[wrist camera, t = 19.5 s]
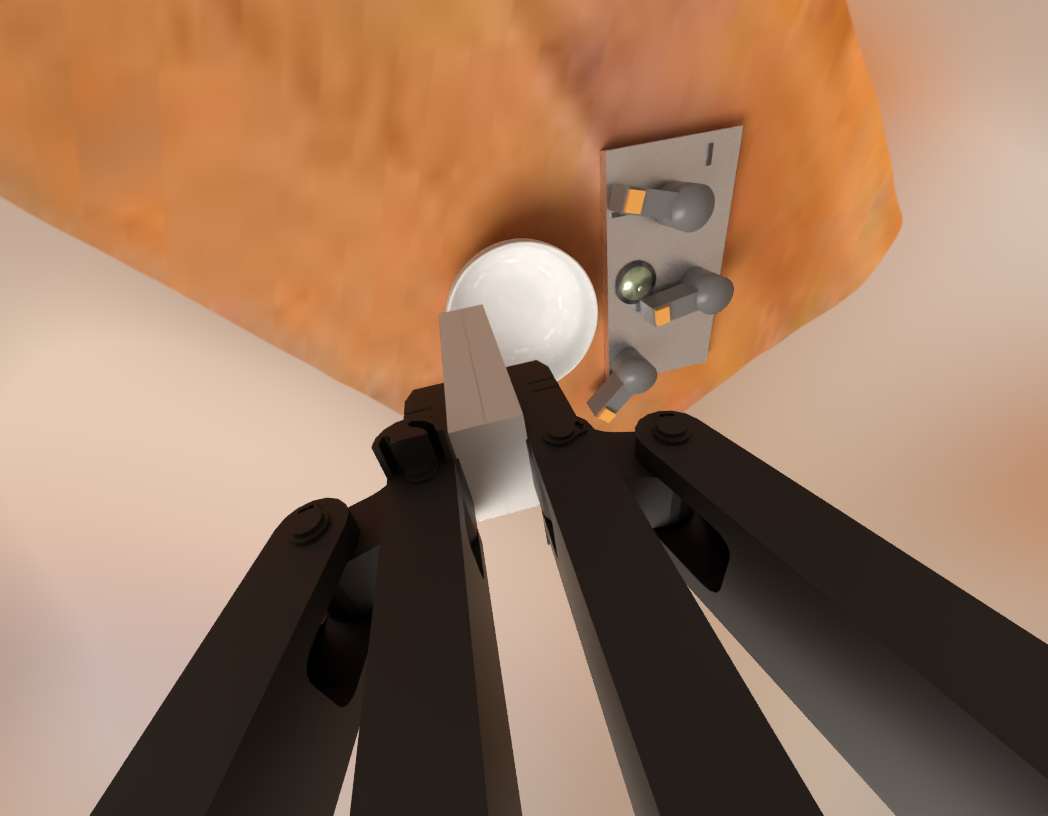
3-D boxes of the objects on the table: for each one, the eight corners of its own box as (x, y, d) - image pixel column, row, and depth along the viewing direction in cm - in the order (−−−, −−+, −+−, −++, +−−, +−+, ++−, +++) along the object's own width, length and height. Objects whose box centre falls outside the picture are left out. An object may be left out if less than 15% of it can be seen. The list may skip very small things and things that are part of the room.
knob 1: (626, 343, 51) (642, 357, 47) (647, 358, 53) (663, 373, 49) (580, 397, 54) (591, 415, 51) (601, 410, 56) (613, 427, 53)
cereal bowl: (599, 319, 50) (621, 341, 44) (495, 387, 53) (503, 416, 47) (536, 195, 40) (554, 203, 35) (412, 285, 43) (410, 307, 37)
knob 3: (711, 262, 47) (734, 271, 43) (711, 295, 50) (733, 307, 46) (636, 290, 47) (653, 302, 43) (640, 322, 50) (657, 335, 46)
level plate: (599, 150, 39) (608, 150, 38) (733, 126, 41) (747, 125, 39) (604, 379, 56) (610, 387, 54) (700, 356, 57) (708, 363, 55)
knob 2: (696, 183, 41) (721, 186, 38) (682, 227, 44) (705, 234, 40) (613, 171, 39) (632, 174, 36) (603, 219, 41) (620, 225, 38)
